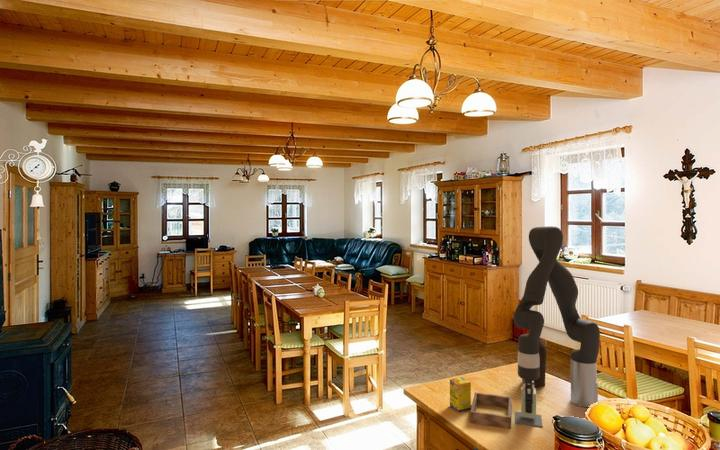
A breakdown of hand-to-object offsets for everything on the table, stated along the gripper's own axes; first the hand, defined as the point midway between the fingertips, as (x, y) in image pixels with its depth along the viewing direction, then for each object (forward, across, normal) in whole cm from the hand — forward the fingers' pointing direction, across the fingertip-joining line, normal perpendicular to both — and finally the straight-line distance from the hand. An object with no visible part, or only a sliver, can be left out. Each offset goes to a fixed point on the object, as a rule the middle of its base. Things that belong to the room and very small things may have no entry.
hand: (528, 409), depth 160 cm
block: (+2, 0, 0) cm, 2 cm away
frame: (+4, 0, +13) cm, 14 cm away
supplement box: (+4, +2, +25) cm, 25 cm away
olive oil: (+4, +36, -3) cm, 36 cm away
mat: (+4, 0, 0) cm, 4 cm away
